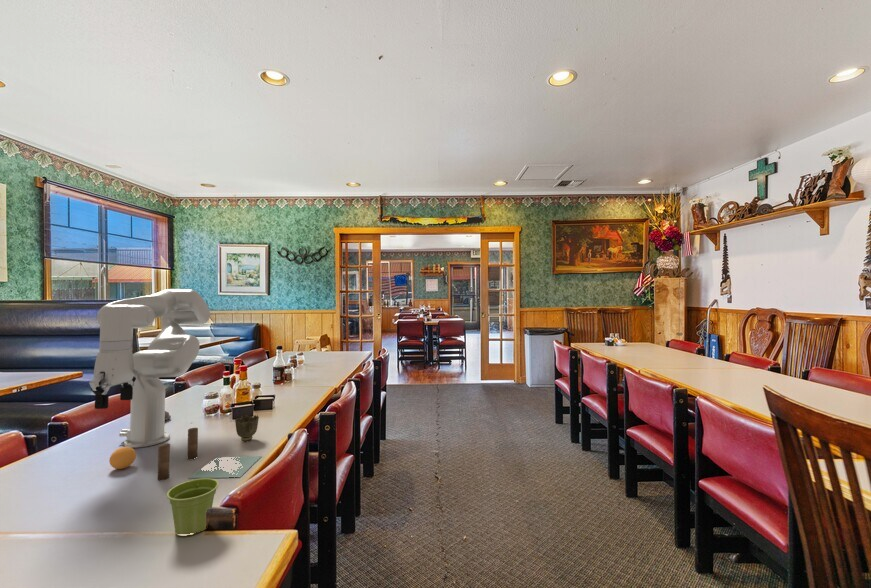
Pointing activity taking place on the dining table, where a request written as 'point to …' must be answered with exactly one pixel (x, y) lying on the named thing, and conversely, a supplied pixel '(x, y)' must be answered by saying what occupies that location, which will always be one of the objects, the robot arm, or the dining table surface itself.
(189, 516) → the plant pot
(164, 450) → the post
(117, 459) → the ball
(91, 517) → the dining table surface
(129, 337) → the robot arm
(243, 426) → the cup
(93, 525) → the dining table surface
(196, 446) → the post
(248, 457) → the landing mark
